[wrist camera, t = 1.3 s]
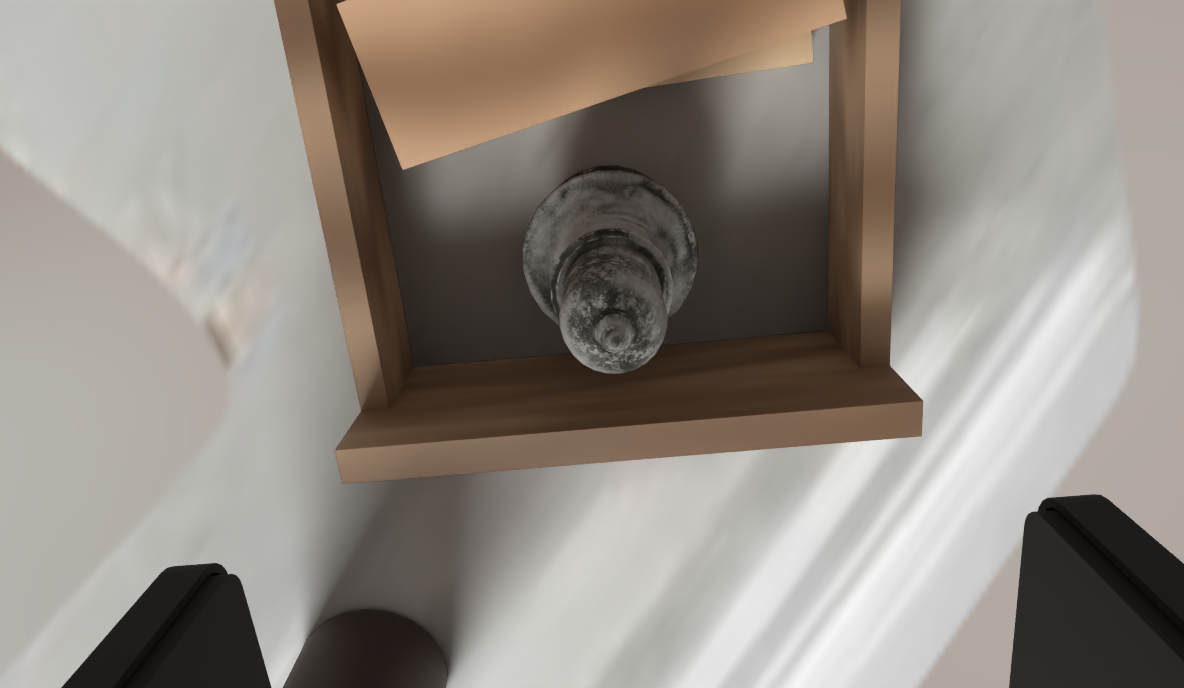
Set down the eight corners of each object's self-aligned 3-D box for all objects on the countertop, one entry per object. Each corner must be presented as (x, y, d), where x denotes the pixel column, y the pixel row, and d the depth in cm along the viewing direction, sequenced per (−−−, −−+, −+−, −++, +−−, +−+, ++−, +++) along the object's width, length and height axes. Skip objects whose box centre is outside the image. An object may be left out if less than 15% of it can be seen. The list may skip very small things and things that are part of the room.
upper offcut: (360, 9, 26) (336, 4, 23) (787, -148, 24) (808, -171, 22) (419, 160, 27) (402, 169, 25) (824, 22, 26) (847, 18, 23)
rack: (314, -13, 27) (223, -36, 21) (860, -71, 26) (947, -114, 20) (398, 414, 32) (347, 505, 26) (853, 375, 32) (920, 459, 25)
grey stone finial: (677, 145, 29) (728, 201, 18) (695, 299, 31) (751, 439, 19) (517, 170, 29) (466, 241, 18) (545, 321, 31) (514, 471, 20)
